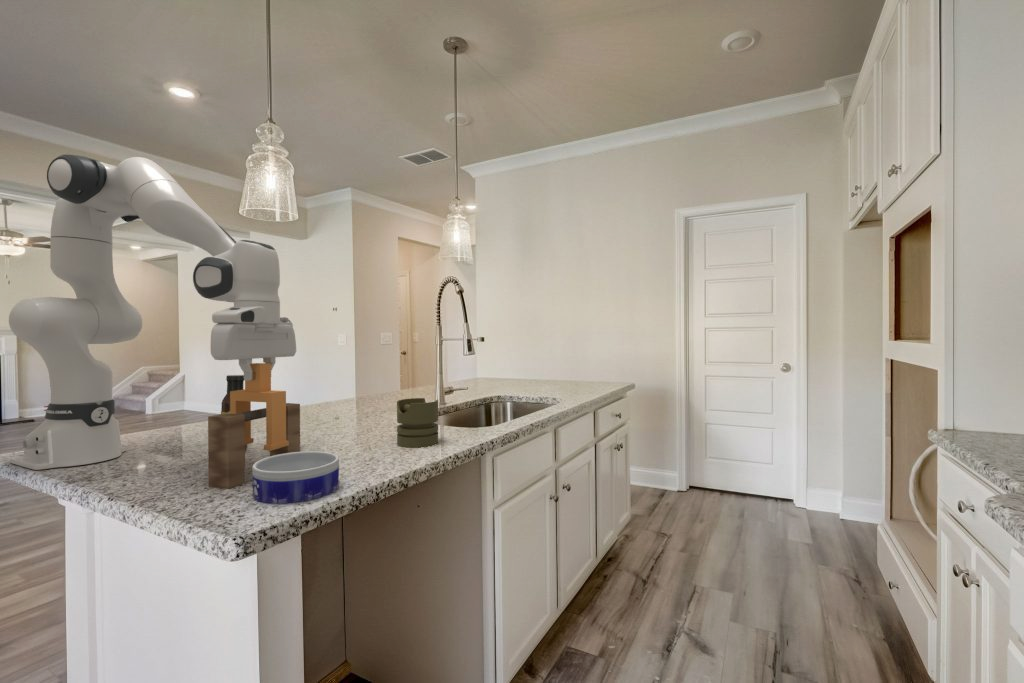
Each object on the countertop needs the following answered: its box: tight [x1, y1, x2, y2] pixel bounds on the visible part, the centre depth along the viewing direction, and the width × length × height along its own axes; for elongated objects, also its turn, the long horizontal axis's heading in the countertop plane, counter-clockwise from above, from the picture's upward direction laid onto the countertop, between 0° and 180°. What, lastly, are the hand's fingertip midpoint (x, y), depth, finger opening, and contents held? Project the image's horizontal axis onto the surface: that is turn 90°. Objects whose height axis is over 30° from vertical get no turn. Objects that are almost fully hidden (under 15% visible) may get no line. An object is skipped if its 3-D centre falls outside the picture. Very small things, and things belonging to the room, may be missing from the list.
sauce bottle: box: [220, 374, 248, 451], centre depth 123 cm, size 6×6×20 cm
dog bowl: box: [251, 450, 340, 505], centre depth 91 cm, size 15×15×6 cm
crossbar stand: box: [207, 402, 301, 490], centre depth 102 cm, size 5×20×14 cm, turn 165°
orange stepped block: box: [230, 362, 289, 451], centre depth 102 cm, size 12×5×18 cm, turn 75°
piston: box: [396, 397, 439, 449], centre depth 132 cm, size 11×12×11 cm
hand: (257, 379), depth 102 cm, fingers closed on orange stepped block, 3 cm apart
